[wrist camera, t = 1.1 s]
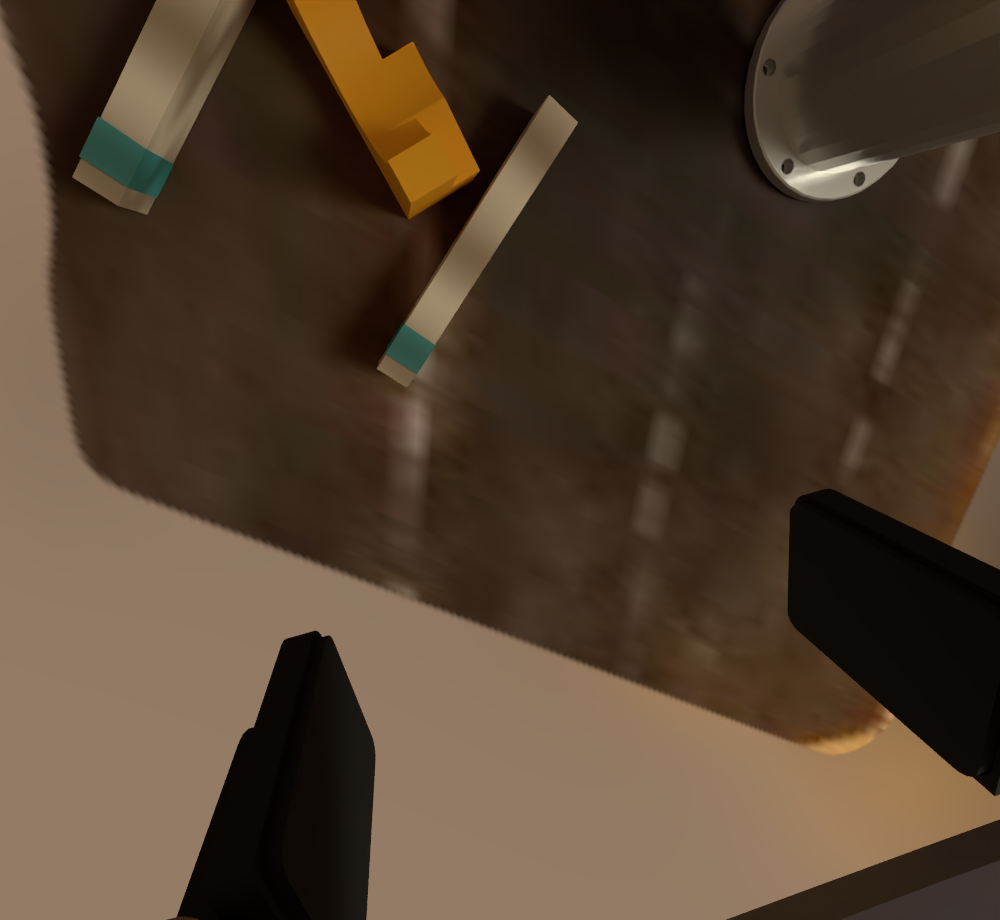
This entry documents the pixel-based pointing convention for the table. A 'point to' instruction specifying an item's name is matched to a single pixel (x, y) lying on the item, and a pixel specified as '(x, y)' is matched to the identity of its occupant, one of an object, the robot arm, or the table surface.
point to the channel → (178, 100)
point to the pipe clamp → (390, 105)
